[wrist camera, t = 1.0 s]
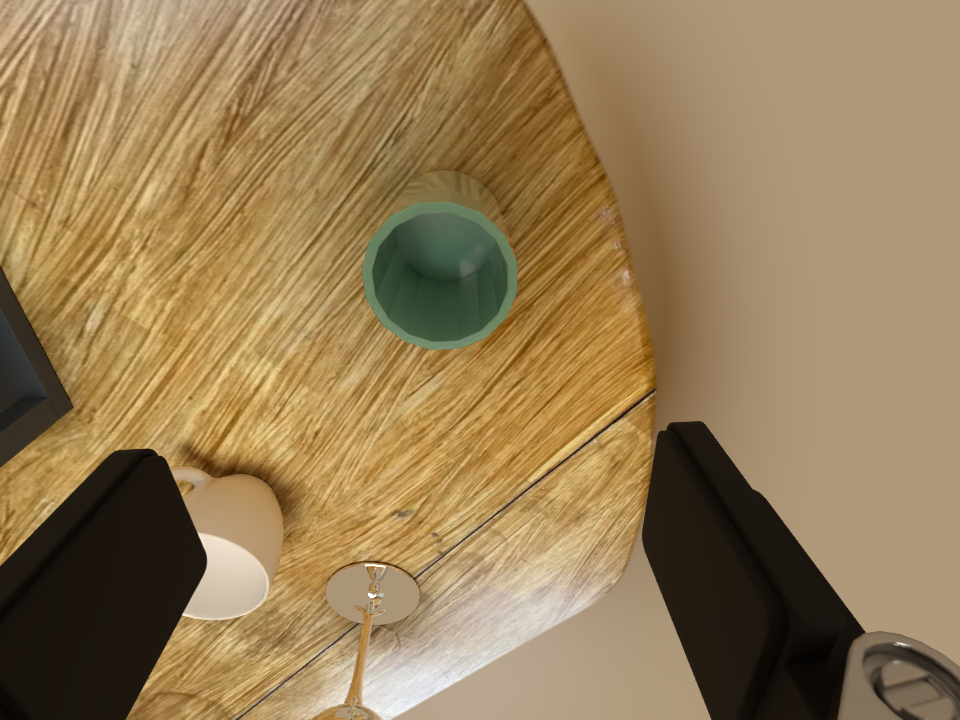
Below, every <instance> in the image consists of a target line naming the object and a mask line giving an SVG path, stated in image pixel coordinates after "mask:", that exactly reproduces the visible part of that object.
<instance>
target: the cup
mask: <svg viewBox="0 0 960 720" xmlns="http://www.w3.org/2000/svg"><path fill="white" fill-rule="evenodd" d="M169 468H170V470H171V472H172V475H173V477H174V479H175V481H188V482H190V483H192V484H193V485H194V489H193V490H191V491H190V492H188V493H187V494H186V495H184V496H183V497H182V498H183V500H184V503H185V505H186V507H187V510H188V512H189V514H190V516H191V519H192V521H193V523H194V526H195V528H196V530H197V533H198V535H199V537H200V540H201V542H202V544H203V547H204V549H205V551H206V554H207V567H206V571H205V573H204V576H203V577H202V579H201V581H200V583H199V585H198V587H197V589H196V590H195V592H194V594H193V596H192V598H191V600H190V602H189V603H188V605H187V607H186V609H185V611H184V613H183V614H182V615H184V616H187V617H191V618H197V619H204V620H226V619H232V618H237V617H240V616H243V615H246V614H248V613H250V612H252V611H254V610H255V609H257V608H258V607H259V606H260V605H261V604H262V603H263V602H264V601H265V599H266V598H267V596H268V593H269V591H270V588H271V585H272V583H273V580H274V578H275V575H276V572H277V569H278V566H279V563H280V559H281V555H282V550H283V543H284V524H283V517H282V512H281V508H280V505H279V503H278V500H277V498H276V496H275V494H274V492H273V490H272V489H271V487H270V486H269V485H268V484H267V483H265V482H264V481H263V480H261V479H259V478H257V477H254V476H251V475H247V474H232V475H228V476H224V477H220V478H214V477H212V476H210V475H209V474H207V473H206V472H204V471H202V470H200V469H197V468H193V467H185V466H172V467H169Z"/></svg>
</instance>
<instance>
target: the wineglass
mask: <svg viewBox="0 0 960 720" xmlns="http://www.w3.org/2000/svg"><path fill="white" fill-rule="evenodd" d="M325 594H326V599H327V601H328V603H329V605H330V606H331V607H332V609H333V610H334V611H335V612H337V613H338V614H339V615H341V616H342V617H344V618H346V619H348V620H351V621H354V622H357V623H361V624H363V628H362V633H361V638H360V644H359V649H358V654H357V660H356V665H355V670H354V674H353V679H352V683H351V686H350V689H349V692H348V695H347V698H346V700H345V702H344V704H340V705H337V706H334V707H331V708H328V709H326V710H324V711H323V712H321V713H320V714H318V715H317V716H315V717H313V718H312V719H310V720H383V719H382V718H381V717H380V716H379V715H378V714H377V713H376V712H374V711H373V710H371V709H369V708H367V707H366V706H363V699H362V692H363V679H364V671H365V665H366V659H367V653H368V647H369V641H370V636H371V630H372V625H383V624H390V623H393V622H397V621H399V620H402V619H404V618H406V617H407V616H409V615H410V614H411V613H412V612H413V611H414V610H415V609H416V607H417V605H418V604H419V600H420V590H419V587H418V585H417V583H416V582H415V580H414V579H413V578H412V577H411V576H410V575H409V574H407V573H406V572H404V571H402V570H401V569H399V568H396V567H394V566H391V565H387V564H383V563H374V562H368V563H358V564H353V565H350V566H347V567H344V568H342V569H341V570H339V571H337V572H336V573H335V574H334V575H333V576H332V577H331V578H330V579H329V581H328V583H327V585H326V591H325Z"/></svg>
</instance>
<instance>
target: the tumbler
mask: <svg viewBox="0 0 960 720" xmlns="http://www.w3.org/2000/svg"><path fill="white" fill-rule="evenodd" d="M362 277H363V283H364V289H365V296H366V299H367V301H368V303H369V305H370V306H371V308H372V310H373V311H374V313H375V314H376V316H377V318H378V319H379V321H380V323H381V324H382V325H383V326H385V327H386V328H387V329H389V330H390V331H391V332H393V333H394V334H395V335H397V336H398V337H399V338H400V339H402V340H403V341H405V342H408V343H411V344H414V345H417V346H421V347H424V348H427V349H430V350H443V349H460V348H463V347H465V346H468V345H470V344H472V343H475V342H477V341H480V340H482V339H484V338H486V337H487V336H488V335H489V334H490V333H492V332H493V331H494V330H495V329H496V328H497V327H498V326H499V325H500V324H501V323H502V322H503V321H504V320H505V319H506V317H507V315H508V313H509V311H510V308H511V306H512V304H513V301H514V299H515V297H516V294H517V260H516V257H515V254H514V250H513V247H512V244H511V240H510V237H509V234H508V231H507V227H506V224H505V221H504V217H503V215H502V213H501V210H500V208H499V205H498V203H497V201H496V199H495V197H494V196H493V195H492V193H491V192H490V191H489V190H488V189H487V188H486V186H484V185H483V184H482V183H481V182H480V181H478V180H477V179H475V178H473V177H472V176H469V175H467V174H465V173H462V172H458V171H452V170H438V171H432V172H428V173H426V174H423V175H421V176H419V177H417V178H415V179H414V180H412V181H411V182H409V184H407V185H406V187H405V188H404V189H403V190H402V191H401V192H400V194H399V195H398V196H397V198H396V199H395V200H394V201H393V203H392V205H391V206H390V208H389V210H388V211H387V213H386V215H385V216H384V218H383V219H382V221H381V223H380V224H379V226H378V228H377V229H376V231H375V233H374V234H373V236H372V237H371V239H370V241H369V243H368V247H367V251H366V255H365V258H364V262H363V266H362Z"/></svg>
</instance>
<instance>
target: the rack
mask: <svg viewBox="0 0 960 720" xmlns="http://www.w3.org/2000/svg"><path fill="white" fill-rule="evenodd" d="M72 408H73V406H72V404H71V402H70V401H69V399H68V397H67V395H66V393H65V391H64V389H63V387H62V385H61V383H60V381H59V380H58V378H57V376H56V374H55V372H54V370H53V368H52V366H51V364H50V362H49V360H48V358H47V357H46V355H45V353H44V351H43V349H42V347H41V345H40V343H39V341H38V339H37V337H36V336H35V334H34V332H33V330H32V328H31V326H30V324H29V322H28V320H27V318H26V316H25V315H24V313H23V311H22V309H21V307H20V305H19V303H18V301H17V299H16V297H15V295H14V293H13V292H12V290H11V288H10V286H9V284H8V282H7V280H6V278H5V276H4V274H3V272H2V271H1V269H0V468H1V467H2V466H3V465H4V464H5V463H7V462H8V461H9V460H10V459H12V458H13V457H14V456H15V455H16V454H18V453H19V452H20V451H21V450H22V449H24V448H25V447H26V446H27V445H29V444H30V443H31V442H32V441H33V440H35V439H36V438H37V437H38V436H39V435H41V434H42V433H43V432H44V431H46V430H47V429H48V428H49V427H50V426H52V425H53V424H54V423H55V422H56V421H58V420H59V419H60V418H61V417H63V416H64V415H65V414H66V413H68V412H69V411H70V410H71V409H72Z"/></svg>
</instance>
